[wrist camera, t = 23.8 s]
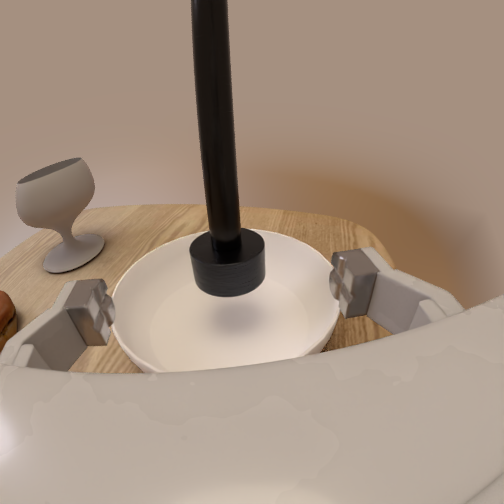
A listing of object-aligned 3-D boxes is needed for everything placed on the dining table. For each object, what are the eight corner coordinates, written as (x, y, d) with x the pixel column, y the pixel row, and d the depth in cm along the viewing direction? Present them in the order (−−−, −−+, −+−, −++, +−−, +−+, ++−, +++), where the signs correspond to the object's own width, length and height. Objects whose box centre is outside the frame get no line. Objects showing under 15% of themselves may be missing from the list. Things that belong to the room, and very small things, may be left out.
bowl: (291, 262, 36) (292, 218, 33) (368, 385, 20) (390, 337, 17) (138, 287, 33) (125, 244, 30) (128, 436, 16) (92, 397, 13)
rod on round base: (280, 272, 24) (271, -28, 11) (227, 308, 20) (199, -50, 8) (232, 249, 28) (214, -6, 15) (181, 276, 24) (148, -13, 11)
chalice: (31, 286, 33) (-3, 196, 25) (48, 245, 44) (26, 173, 36) (108, 264, 37) (81, 165, 30) (111, 227, 49) (94, 150, 41)
